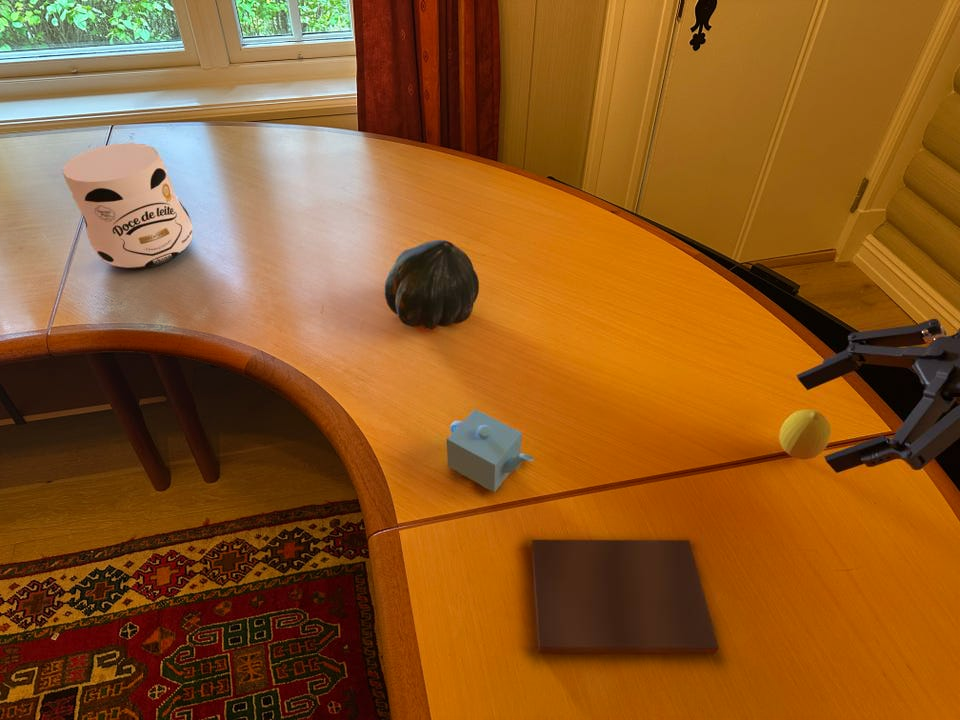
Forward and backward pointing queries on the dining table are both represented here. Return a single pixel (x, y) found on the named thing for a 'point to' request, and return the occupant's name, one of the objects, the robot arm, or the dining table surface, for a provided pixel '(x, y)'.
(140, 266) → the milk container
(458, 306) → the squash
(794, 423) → the lemon
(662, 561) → the cutting board
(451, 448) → the knobbed blue-grey cube
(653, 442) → the dining table surface
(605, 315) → the dining table surface
